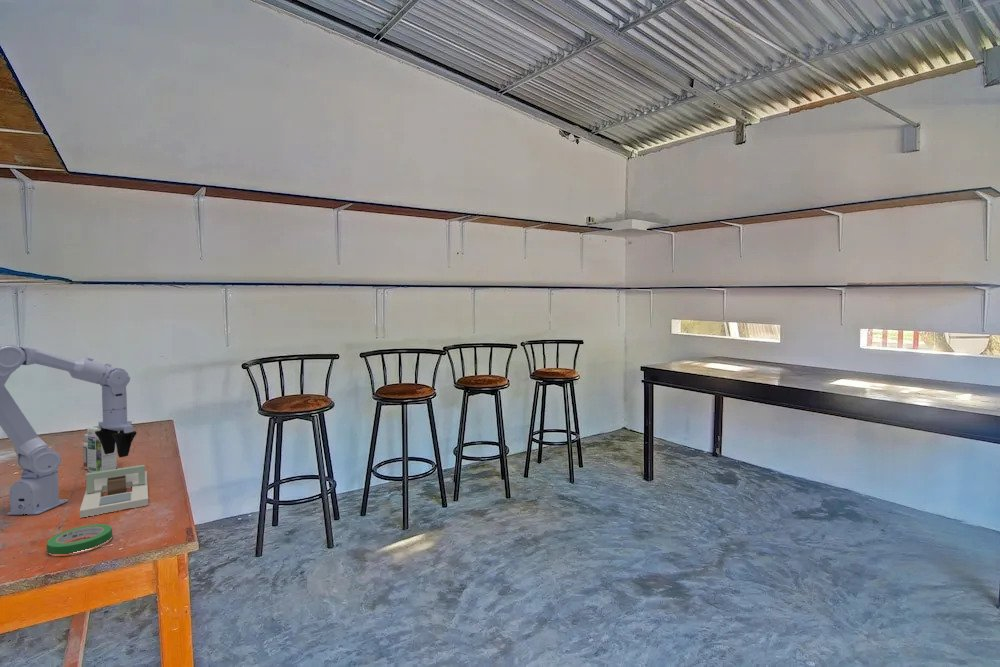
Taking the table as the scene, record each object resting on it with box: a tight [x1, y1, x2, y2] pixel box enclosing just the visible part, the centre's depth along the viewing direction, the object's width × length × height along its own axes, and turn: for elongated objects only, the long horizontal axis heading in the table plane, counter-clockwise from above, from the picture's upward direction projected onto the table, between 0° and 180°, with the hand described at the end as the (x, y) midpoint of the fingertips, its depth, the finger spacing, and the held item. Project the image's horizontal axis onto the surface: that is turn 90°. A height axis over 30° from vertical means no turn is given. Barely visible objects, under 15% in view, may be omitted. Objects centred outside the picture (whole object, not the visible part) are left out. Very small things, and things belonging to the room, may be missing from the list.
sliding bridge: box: [85, 464, 146, 493], centre depth 143 cm, size 2×13×5 cm, turn 125°
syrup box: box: [86, 425, 118, 473], centre depth 167 cm, size 6×6×14 cm
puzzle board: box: [79, 470, 149, 519], centre depth 143 cm, size 30×14×2 cm, turn 35°
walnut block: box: [107, 475, 127, 496], centre depth 143 cm, size 4×4×5 cm
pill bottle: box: [82, 433, 88, 470], centre depth 170 cm, size 6×6×11 cm
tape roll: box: [46, 523, 113, 554], centre depth 112 cm, size 11×11×3 cm
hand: (116, 454), depth 149 cm, fingers open, 7 cm apart
